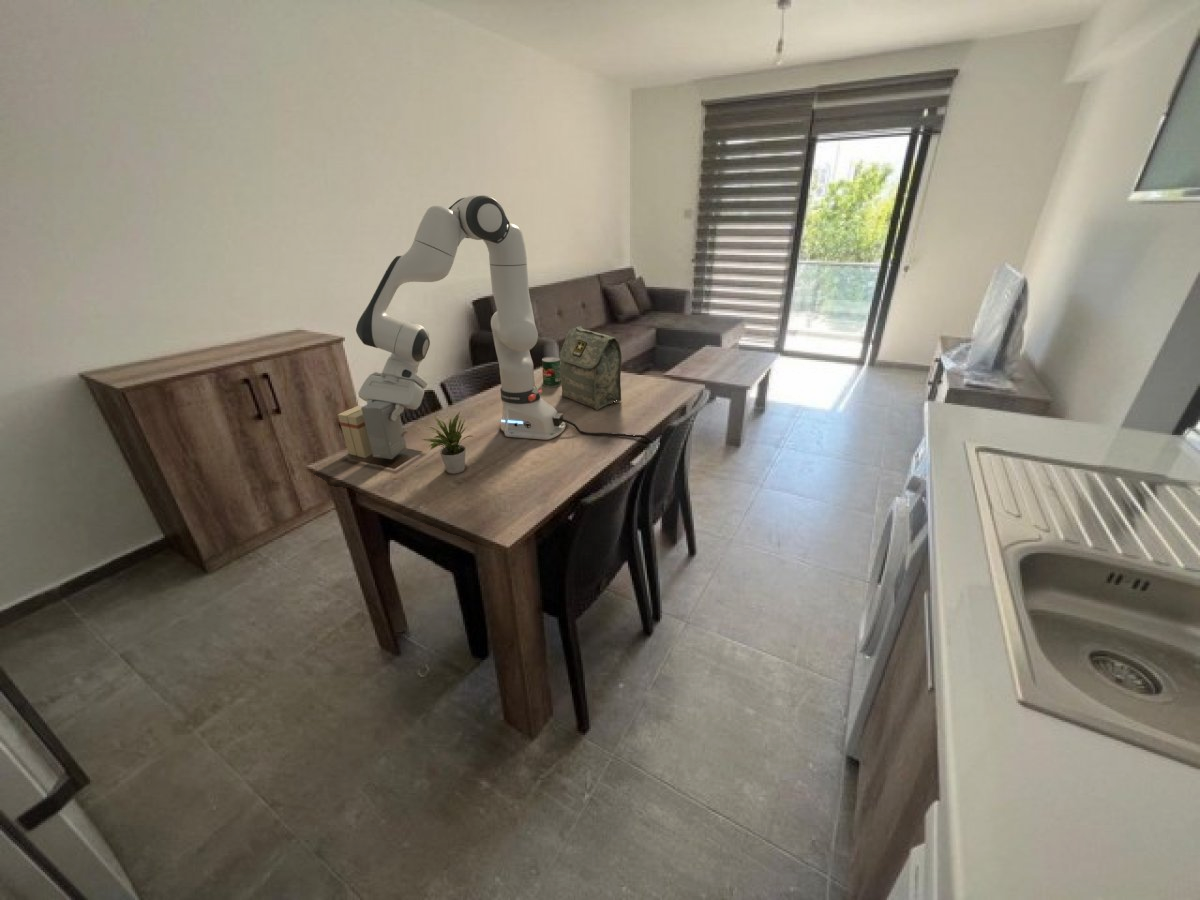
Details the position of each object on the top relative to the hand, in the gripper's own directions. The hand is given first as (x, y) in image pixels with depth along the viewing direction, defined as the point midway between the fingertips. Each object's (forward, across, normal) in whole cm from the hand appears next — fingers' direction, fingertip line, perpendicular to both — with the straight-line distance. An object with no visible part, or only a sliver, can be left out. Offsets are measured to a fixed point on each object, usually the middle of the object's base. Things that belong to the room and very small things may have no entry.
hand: (380, 417), depth 138 cm
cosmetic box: (+8, 0, +9) cm, 12 cm away
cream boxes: (+8, -10, +9) cm, 16 cm away
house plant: (+7, +21, +12) cm, 26 cm away
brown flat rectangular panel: (+9, -3, +10) cm, 14 cm away
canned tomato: (-48, +13, +68) cm, 84 cm away
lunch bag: (-39, +36, +59) cm, 80 cm away
